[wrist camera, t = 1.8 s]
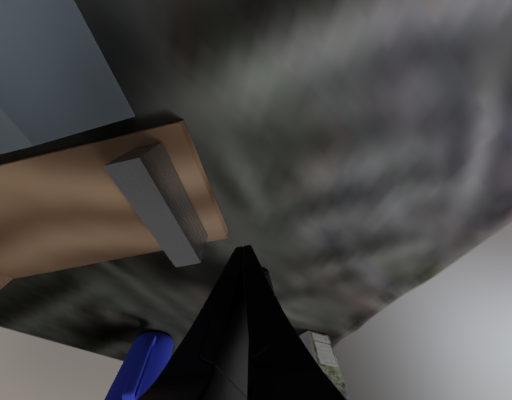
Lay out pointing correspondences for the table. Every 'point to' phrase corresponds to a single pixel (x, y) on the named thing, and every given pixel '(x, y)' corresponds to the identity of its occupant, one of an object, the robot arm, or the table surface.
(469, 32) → the table surface
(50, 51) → the blue-grey rectangular block
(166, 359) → the mug
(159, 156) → the grey rectangular block
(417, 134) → the table surface
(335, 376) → the syrup box
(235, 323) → the robot arm
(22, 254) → the shelf
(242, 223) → the table surface
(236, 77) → the table surface
